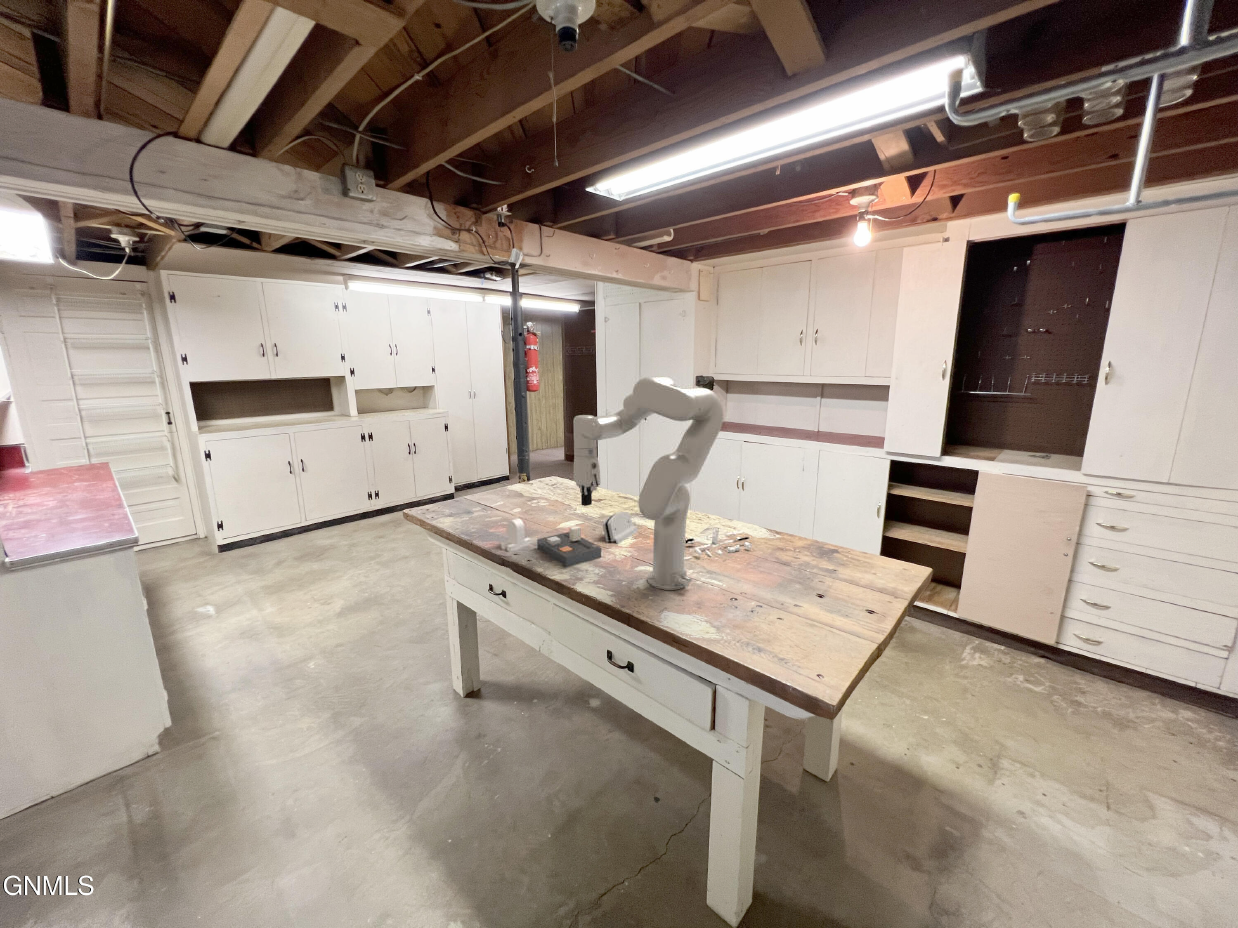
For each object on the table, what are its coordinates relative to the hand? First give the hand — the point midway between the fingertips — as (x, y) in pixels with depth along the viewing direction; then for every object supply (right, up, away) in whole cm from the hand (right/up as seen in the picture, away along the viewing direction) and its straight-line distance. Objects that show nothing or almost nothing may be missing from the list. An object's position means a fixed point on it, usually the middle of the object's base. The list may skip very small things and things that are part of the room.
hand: (586, 504), depth 163 cm
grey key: (-12, -15, +5) cm, 20 cm away
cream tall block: (-4, -13, +6) cm, 15 cm away
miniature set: (+43, -18, +8) cm, 48 cm away
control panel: (-7, -17, +4) cm, 19 cm away
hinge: (+11, -14, +21) cm, 28 cm away
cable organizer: (-27, -16, +10) cm, 33 cm away
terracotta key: (-7, -17, -1) cm, 19 cm away
